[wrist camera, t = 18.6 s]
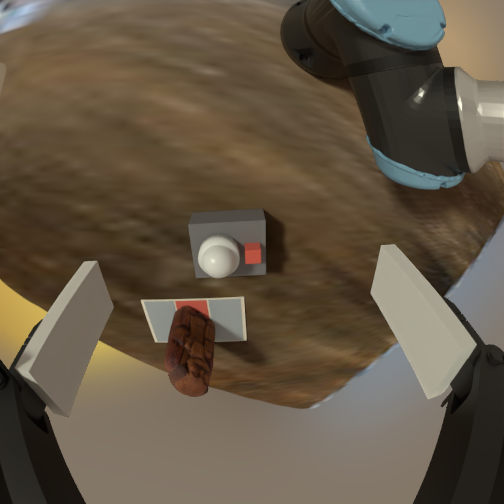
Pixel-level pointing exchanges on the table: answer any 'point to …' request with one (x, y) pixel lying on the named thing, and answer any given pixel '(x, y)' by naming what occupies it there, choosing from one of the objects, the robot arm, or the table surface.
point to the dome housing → (239, 229)
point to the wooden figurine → (190, 351)
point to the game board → (217, 309)
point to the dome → (219, 255)
